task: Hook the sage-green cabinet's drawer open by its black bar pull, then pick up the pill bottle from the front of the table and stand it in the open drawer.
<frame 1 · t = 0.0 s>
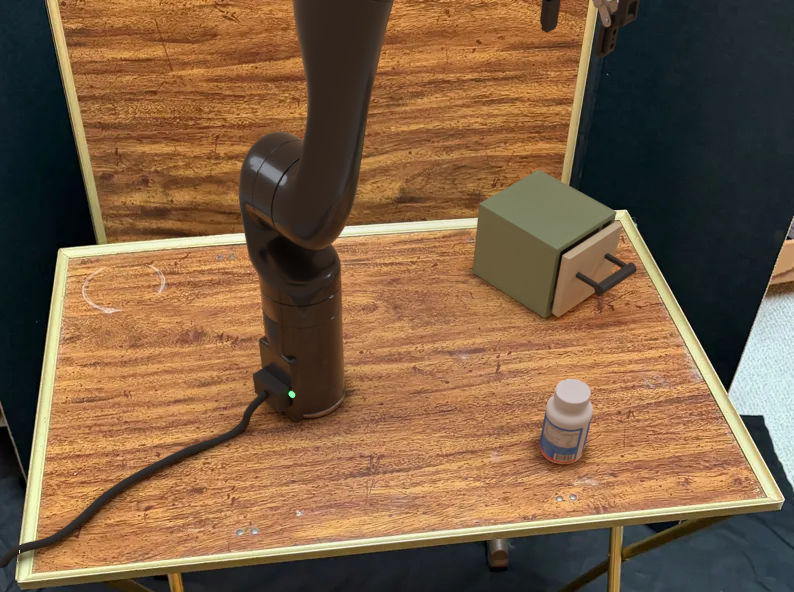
hand: (575, 42, 119), 29 cm above the table, tool pointing down, fingers open, 8 cm apart
cabinet: (536, 276, 137), on the table
pill bottle: (560, 450, 117), on the table
drawer: (567, 258, 131), point 6 cm above the table, slide at 0.5 cm
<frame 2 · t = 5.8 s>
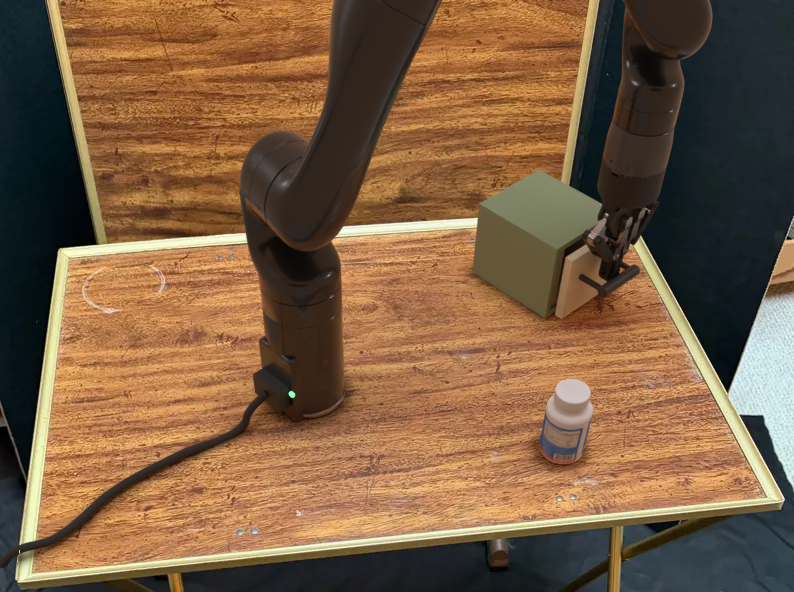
hand: (607, 277, 128), 6 cm above the table, tool pointing down, fingers closed
drawer: (570, 260, 131), point 6 cm above the table, slide at 1.1 cm, touching gripper
everything else where it was.
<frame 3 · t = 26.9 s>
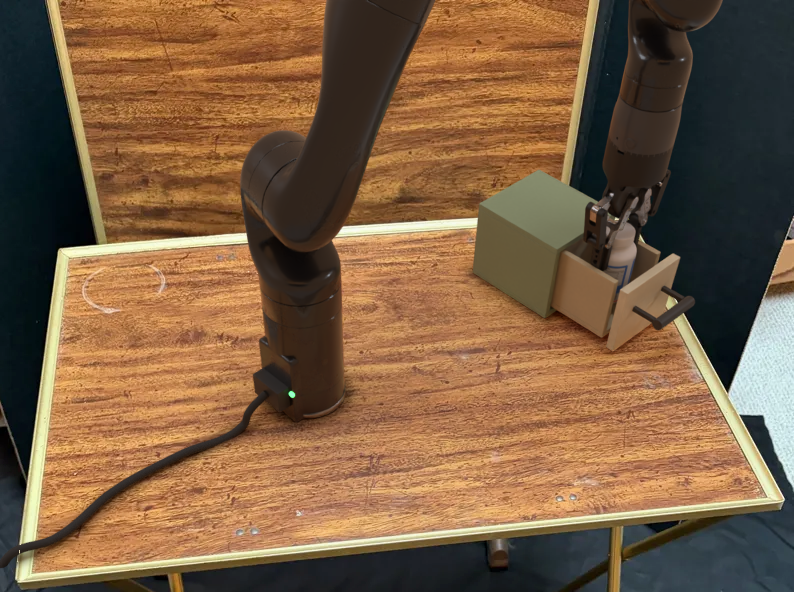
hand: (613, 257, 125), 9 cm above the table, tool pointing down, fingers closed on pill bottle, 5 cm apart
pill bottle: (605, 293, 130), point 4 cm above the table, touching gripper
drawer: (622, 290, 127), point 6 cm above the table, slide at 9.8 cm
when the fingers open (10 cm above the table, at t = 28.1 s): pill bottle drops 3 cm, resting on drawer.
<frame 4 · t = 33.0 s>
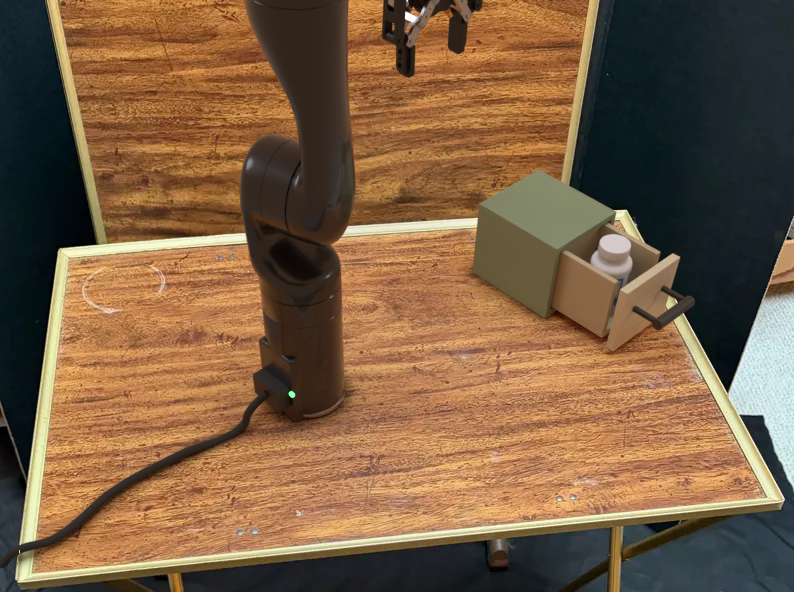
hand: (431, 63, 117), 28 cm above the table, tool pointing down, fingers open, 8 cm apart
pill bottle: (601, 305, 131), point 2 cm above the table, touching drawer
drawer: (622, 290, 127), point 6 cm above the table, slide at 9.8 cm, touching pill bottle
at the end: drawer slide at 9.8 cm; pill bottle inside the target area in the drawer (0.5 cm from its centre), point 1.8 cm above the cabinet's base; pill bottle tilted 0° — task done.
